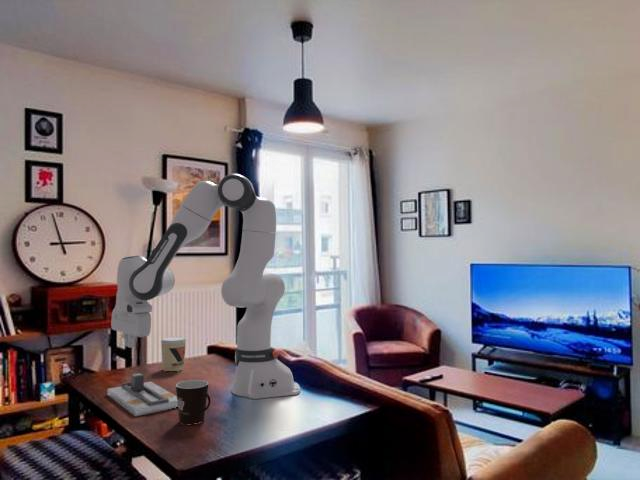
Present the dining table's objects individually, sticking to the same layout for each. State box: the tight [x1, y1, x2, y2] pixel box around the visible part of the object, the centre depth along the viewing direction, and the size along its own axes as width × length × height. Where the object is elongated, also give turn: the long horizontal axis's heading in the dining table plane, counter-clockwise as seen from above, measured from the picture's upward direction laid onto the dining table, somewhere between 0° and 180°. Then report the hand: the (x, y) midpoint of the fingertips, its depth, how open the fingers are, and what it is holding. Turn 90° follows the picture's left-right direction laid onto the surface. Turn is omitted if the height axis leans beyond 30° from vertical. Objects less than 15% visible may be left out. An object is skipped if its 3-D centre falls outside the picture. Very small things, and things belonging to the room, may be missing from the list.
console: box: [107, 381, 178, 417], centre depth 151 cm, size 26×14×3 cm, turn 39°
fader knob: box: [130, 372, 145, 391], centre depth 156 cm, size 4×3×4 cm
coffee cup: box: [160, 336, 187, 372], centre depth 191 cm, size 9×9×12 cm
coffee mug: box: [175, 379, 211, 424], centre depth 132 cm, size 12×9×10 cm
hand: (129, 346), depth 161 cm, fingers closed
